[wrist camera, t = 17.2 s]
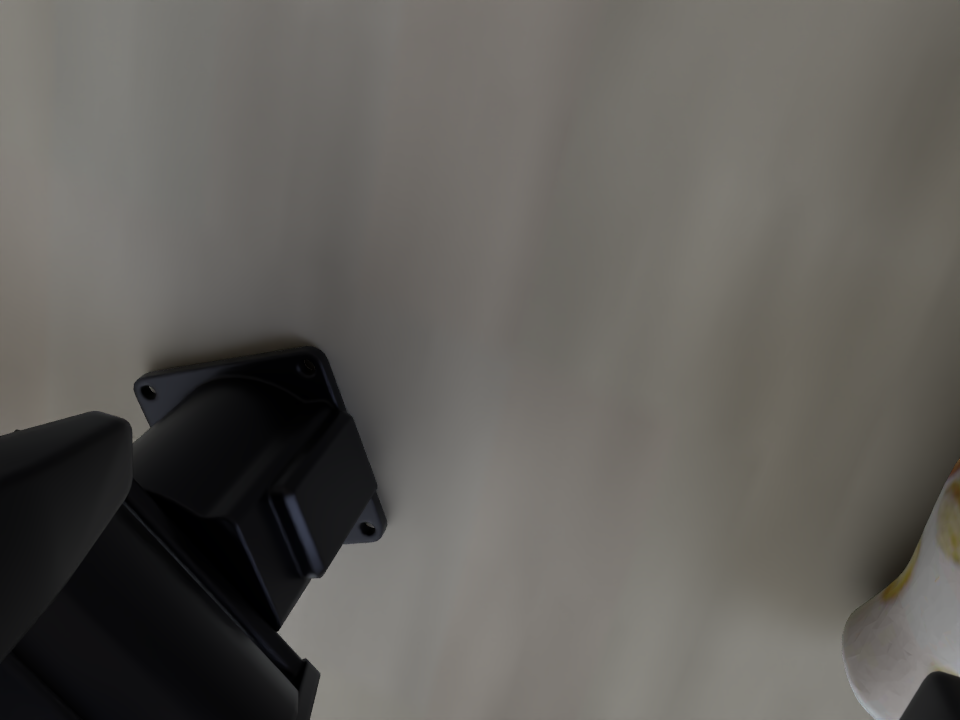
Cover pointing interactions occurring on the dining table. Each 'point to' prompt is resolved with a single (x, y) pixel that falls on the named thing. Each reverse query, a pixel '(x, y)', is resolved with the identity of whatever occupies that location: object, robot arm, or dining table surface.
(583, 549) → the dining table surface
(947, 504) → the mug
